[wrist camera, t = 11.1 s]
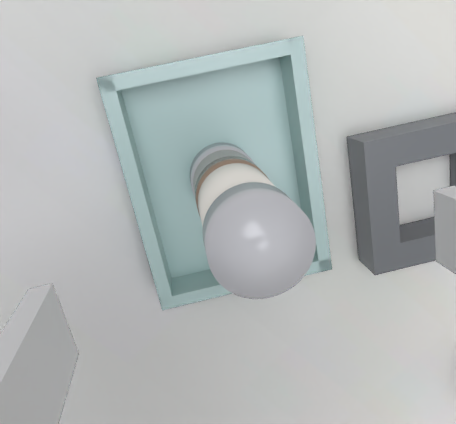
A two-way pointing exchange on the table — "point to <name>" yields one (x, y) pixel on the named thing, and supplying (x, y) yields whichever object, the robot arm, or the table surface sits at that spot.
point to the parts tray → (206, 135)
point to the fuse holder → (395, 190)
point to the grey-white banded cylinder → (249, 225)
